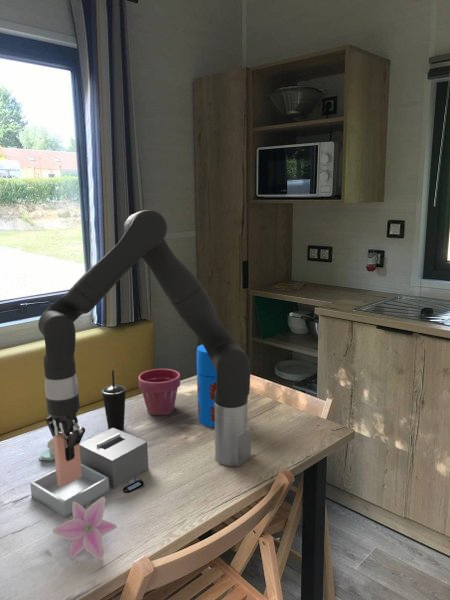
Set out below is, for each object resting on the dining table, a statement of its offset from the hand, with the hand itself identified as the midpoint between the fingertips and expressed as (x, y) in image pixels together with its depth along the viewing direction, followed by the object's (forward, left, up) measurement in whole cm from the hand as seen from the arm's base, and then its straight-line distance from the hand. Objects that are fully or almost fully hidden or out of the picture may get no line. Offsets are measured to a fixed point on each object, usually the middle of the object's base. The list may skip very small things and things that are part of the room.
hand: (67, 458), depth 123 cm
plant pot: (+17, -49, -10) cm, 53 cm away
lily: (-19, +9, -10) cm, 24 cm away
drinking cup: (+18, -30, -10) cm, 36 cm away
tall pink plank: (0, 0, -6) cm, 6 cm away
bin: (0, 0, -10) cm, 10 cm away
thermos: (-3, -54, -10) cm, 55 cm away
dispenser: (0, -14, -10) cm, 17 cm away
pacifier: (+20, -8, -10) cm, 24 cm away
